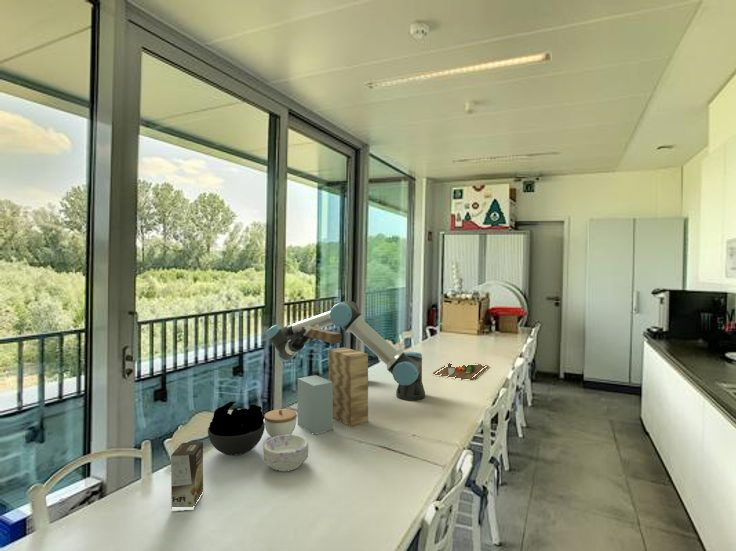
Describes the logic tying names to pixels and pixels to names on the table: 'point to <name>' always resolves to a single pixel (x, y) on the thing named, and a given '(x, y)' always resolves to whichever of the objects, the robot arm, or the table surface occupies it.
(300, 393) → the base block
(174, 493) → the coffee box
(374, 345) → the robot arm
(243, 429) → the coal bowl
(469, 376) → the chopping board
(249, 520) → the table surface
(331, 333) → the walnut block
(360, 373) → the tall stand
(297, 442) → the paper bowls
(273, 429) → the lidded bowl
